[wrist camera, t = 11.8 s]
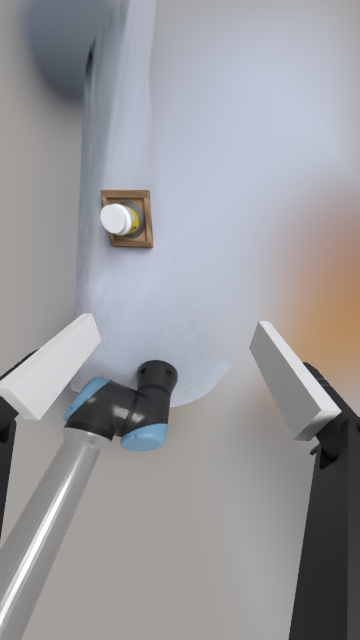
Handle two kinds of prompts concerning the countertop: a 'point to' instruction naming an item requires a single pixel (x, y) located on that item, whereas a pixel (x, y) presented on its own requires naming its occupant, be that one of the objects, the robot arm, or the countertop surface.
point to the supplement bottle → (120, 219)
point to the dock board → (141, 205)
